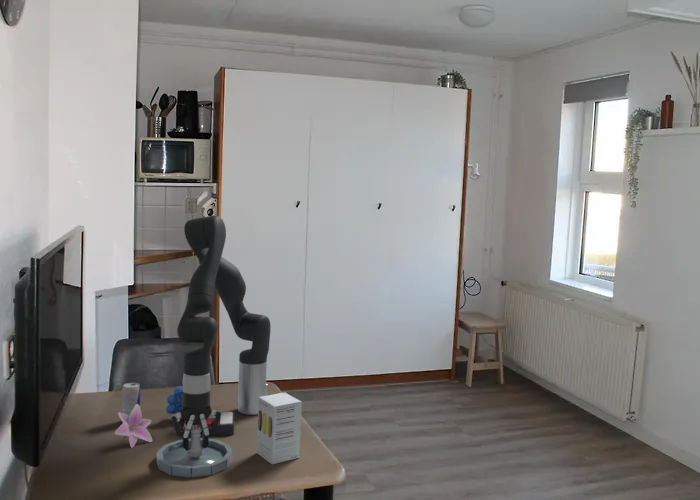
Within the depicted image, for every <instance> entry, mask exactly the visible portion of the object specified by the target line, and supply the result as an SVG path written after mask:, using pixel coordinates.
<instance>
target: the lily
mask: <svg viewBox="0 0 700 500" xmlns="http://www.w3.org/2000/svg"><path fill="white" fill-rule="evenodd" d="M117 415H118V417H119V418H120V420H121V421H122V423H121V425H120V426H119V427H118V428H117V429H116V430H115V431H114V434H115V435H117V436H124V437H123V439H126V437H128V442H129V445H130V447H131V448H132V449H133V447H134V446H135V445H136V444H137V442H138V439H140V440H143V441H146V442H149V443H153V438H152V436H151V433H150V432H149V430H148V429H147V428H148V427H149V425H150V424H151V423H152V419H149V418H143V415H142V410H141V406H140V407H139V405H138V404H136V405H135V407H134V408H133V410H132V412H131V414H130V416H128V415H127V414H124V413H122V412H119V411H118V412H117Z"/></svg>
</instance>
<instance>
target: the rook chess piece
mask: <svg viewBox="0 0 700 500" xmlns="http://www.w3.org/2000/svg"><path fill="white" fill-rule="evenodd" d="M201 431H202V429H201V426H199V425H198V427H197V425H195V427H194V426H192V427H191V429H190V432H191V436H190V439H191V443H190V446H189V448H188V452H187V454H188V456H190V457H200V456H202V454H203V447H202V445H201V442H200V438H201V434H200V432H201Z"/></svg>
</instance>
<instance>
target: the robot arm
mask: <svg viewBox="0 0 700 500" xmlns="http://www.w3.org/2000/svg"><path fill="white" fill-rule="evenodd" d="M226 228H227V227H226V225H225V222H224V220H223V218H221V216H219V215H209V216H203V217H198V218H197V217H196V218H192V219H189V220H187V221H186V222H185V224H184V228H183V231H184V235H185V239H186V241H187V244H188V245H189V247H190V249H191V250H192V252H193V253H194V254H195V256H196V258H197V259H198V260H199V262H200V264H199V265H198V267H197V268H196V270H195V271H194V273H193V274H192V276H191V279H190V282H189V285H188V293H187V295H188V296H187V303H186V306H185V309H184V311H183V314H182V315H181V317H180V320H179V323H178V326H177V329H176V332H177V337H178V339H179V340H180V341H181V342H183V343H189V344H190V343H193V344H194V343H196V344H197V343H198V344H200V343H201V344H202V343H203V345H202V346H201V347H199V348H196V349H195V348H194V349H191V350H187V351H186V352H185V353H184V356H183V377H182V409H181V411H180V412H179V413H177V414H172V413H171V414H170V418H171V421H172V425H173V428H174V432H175V433H176V437H182V439H181V440H182V445H183V448H184V449H185V450H186V451H187V450H188V446H189V439H190V438H189V436H188V434H189V431H190V429H191V426H194V425H202V429H203V435H202V437H201V438H202V446H203V448H206V446H208V444H209V439H210V438H209V437H210V435H209V434H210V433H214V432H215V431H216V428H217V425H218V422H219V419H220V416H221V411H220V410H219V409H212V408H211V389H212V384H211V381H212V380H211V355H212V352H213V351H212V349H213V346H214V343H215V341H216V338H217V335H218V329H219V328H218V327H219V326H218V323H217V320H216V319H215V318H213V317H211V316H197V315H200V314H204V313H209V312H211V311H212V309H213V307H214V298H215V297H214V296H215V292H216V294H217V295H218V296H219V298H220V300H221V303H222V304H223V306H224V308H225V311H226V313H227V315H228V317H229V320H230V322H231V325H232V328H233V330H234V334H236V337H238V339H241V340H242V341H248V342H252V343H251V348H249V349H245V350H242V351H240V353H239V355H238V356H239V360H238V362H239V363H238V387H237V391H238V392H237V393H238V394H237V396H238V397H237V412H238V413H240V414H244V415H249V416H251V415H253V416H254V415H255V416H256V415H258V401H259V397H262V396H267V395H268V387H269V386H268V383H267V368H268V367H267V366H268V363H267V361H268V355H269V351H270V339H271V327H272V326H271V321H270V318H269V317H268V316H267V315H265V314H258V313H252V312H249V311H248V310H247V308H246V306H245V305H244V298H245V296H246V292H247V285H246V282H245V280H244V278H243V276H242V273H241V272H240V269H239V268H238V267H237V266H236V265H234V264H233V263H232V262H230V261H229V260H227V259H226V258H224V257H222V256H223V251H224V248H225V244H226V238H227V229H226ZM210 414H212V417H213V419H212V422H211V425H210V427H209V428H208V427H207V424H206V420H207V418H208V417H209V416H210ZM181 416H182V418H183V419H182V418H181ZM181 419H182V420H184V425H183V428H182V430H181V429H180V425H179V422H180V420H181Z"/></svg>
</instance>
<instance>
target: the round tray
mask: <svg viewBox="0 0 700 500" xmlns="http://www.w3.org/2000/svg"><path fill="white" fill-rule="evenodd" d="M200 442H201V445H202V437H200ZM190 443H191V438H189V446H190ZM189 446H188V448H189ZM202 447H203V446H202ZM187 452H188V450H187V451H186V450H185V449H184V448H183V445H182V439H178V440H174V441H172V442H169V443H166V444H164V445H162V447H161V448H160V449H159V450H158V451H157V452H156V465H157V468H158V470H159V471H161V472H163V473H165V474H168V475H170V476H173V477H179V478H180V477H183V478H199V477H206V476H212V475H214V474H215V475H216V474H217V473H220V472H222V471H225V470H227V469H228V468H229V466H231V464H232V462H233V461H234V460H233V456H234V451H233V449H232V447H231V446H230V444H228V443H226V442H224V441H221V440H218V439H215V438H214V439H213V438H209V444H208V446H206V448H203V454H202V456H200V457H190V456H188V454H187Z"/></svg>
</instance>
